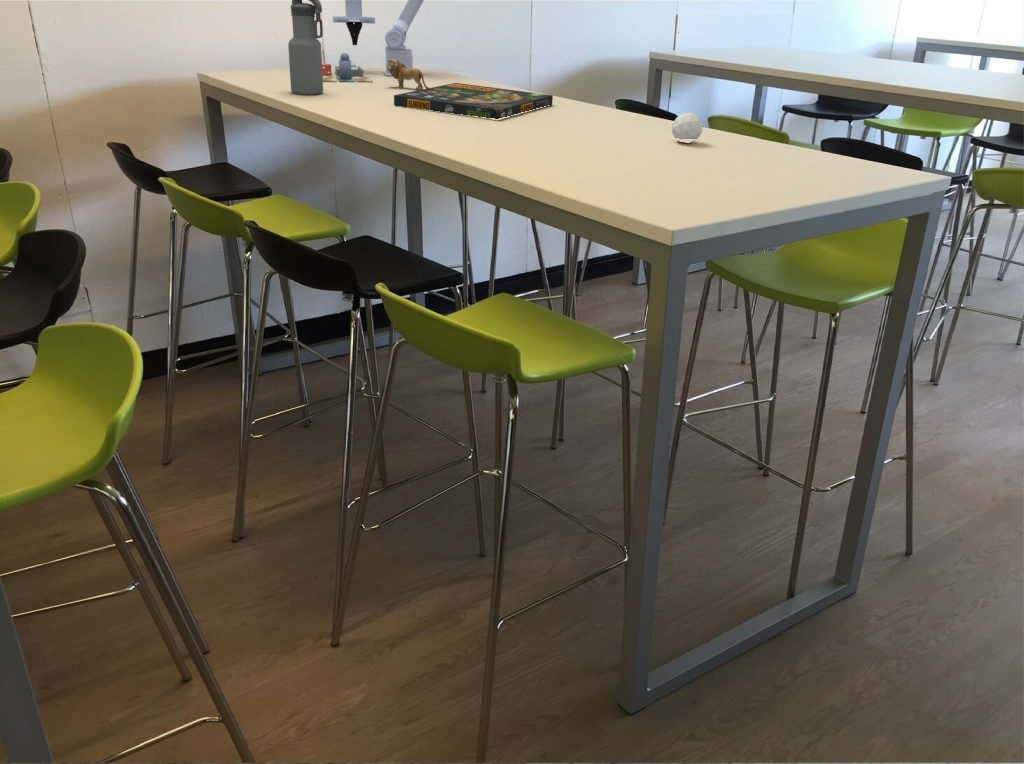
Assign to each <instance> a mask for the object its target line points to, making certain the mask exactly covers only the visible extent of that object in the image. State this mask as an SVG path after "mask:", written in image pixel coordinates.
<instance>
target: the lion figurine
mask: <svg viewBox="0 0 1024 764" xmlns="http://www.w3.org/2000/svg"><path fill="white" fill-rule="evenodd" d="M387 69H388V72H389V73H390V74H391V75H392V77H393V79H395V80H397V82H398V83H397V84H398V86H396V89H397V88H399V90H400V88H401V87H402V88H404V80H405V81H412V80H414V82H415V83H416V84H417V86H416V87H415V90H422V89H427V88H429V87H428V86H427V85H426V82H425V77H424V75H423V72H422V71H421V69H420V68H416V67H414V68H413V69H408V68H407V67H405V65H404V64H402V63H400V62H399V61H397V60H395V59H390V60H389V61H388V66H387ZM423 86H424V87H423ZM402 88H401V89H402Z"/></svg>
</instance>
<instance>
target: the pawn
mask: <svg viewBox="0 0 1024 764" xmlns="http://www.w3.org/2000/svg"><path fill="white" fill-rule="evenodd" d="M339 56H340V59H338V66H339V76H340V79H344V80H349V79H352V78H353V77H352V78H351V63H352V60H351V59H350V56H349V54H348V53H346V52H342V53H341V54H340V55H339Z"/></svg>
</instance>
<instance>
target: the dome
mask: <svg viewBox="0 0 1024 764" xmlns="http://www.w3.org/2000/svg"><path fill="white" fill-rule="evenodd" d="M356 64H357V63H356V62H351V69H356V70H358V67H357V65H356Z"/></svg>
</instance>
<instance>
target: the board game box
mask: <svg viewBox="0 0 1024 764" xmlns="http://www.w3.org/2000/svg"><path fill="white" fill-rule="evenodd" d="M553 97H554V95H552V94H548V93H547V94H546V93H539V92H538V93H537V92H529V91H523V90H514V89H508V88H507V89H506V88H501V87H500V88H499V87H491V86H485V85H484V86H483V85H474V84H468V83H460V82H453V83H447V84H443V85H439V86H434V87H433V86H432V87H428V88H427V89H426V88H423V89H422V90H419V89H416V90H413V91H412V90H411V91H409V92H403V93H398V94H394V95H393V106H394V105H395V107H399V106H402V107H401V108H406V107H410V108H409V109H413V108H419V109H418V110H420V109H426V110H425V111H427V110H433V111H432V112H434V111H440V112H439V113H441V112H447V113H454V114H463V115H470V116H478V117H486V118H495V119H499V118H503V117H507V116H511V115H514V114H518V113H521V112H525V111H529V110H533V109H536V108H540V107H544V106H548V105H552V106H553V100H554V98H553ZM548 107H549V106H548ZM447 113H446V114H447ZM454 114H453V115H454Z"/></svg>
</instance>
